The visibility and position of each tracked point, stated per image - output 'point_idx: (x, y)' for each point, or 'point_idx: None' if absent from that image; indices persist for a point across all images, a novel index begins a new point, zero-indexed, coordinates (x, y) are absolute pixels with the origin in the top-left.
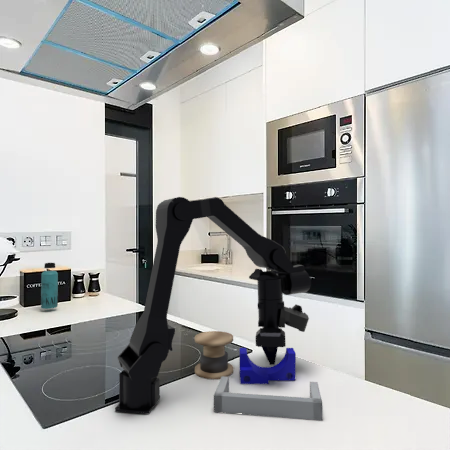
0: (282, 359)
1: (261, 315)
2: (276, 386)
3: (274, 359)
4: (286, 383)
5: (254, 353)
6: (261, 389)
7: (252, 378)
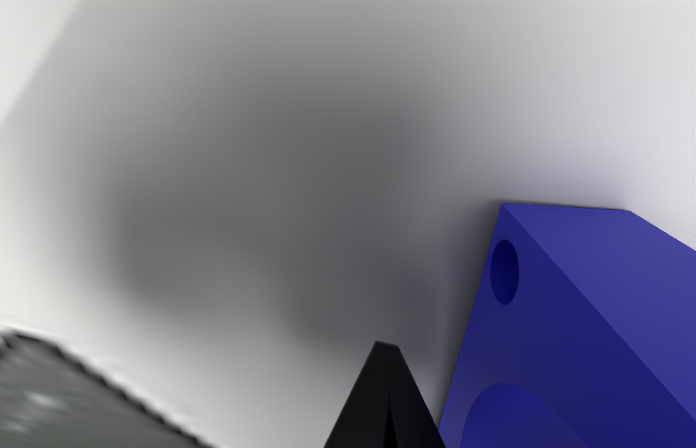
0: (542, 396)
1: None
2: None
3: (417, 397)
4: None
5: (71, 333)
6: None
7: None
